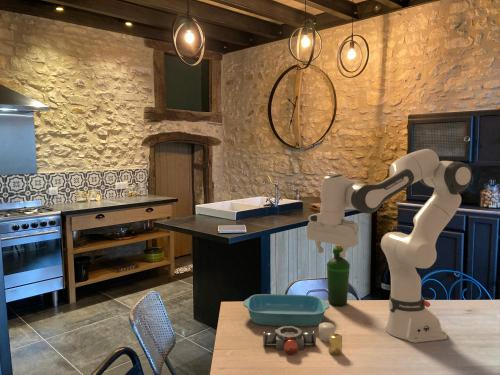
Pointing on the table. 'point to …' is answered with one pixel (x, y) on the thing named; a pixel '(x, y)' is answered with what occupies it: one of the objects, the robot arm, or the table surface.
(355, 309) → the table surface
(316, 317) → the casserole dish
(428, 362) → the table surface
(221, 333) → the table surface
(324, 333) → the cream pebble-shaped knob
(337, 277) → the bottle
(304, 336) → the valve body
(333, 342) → the brass coupling
